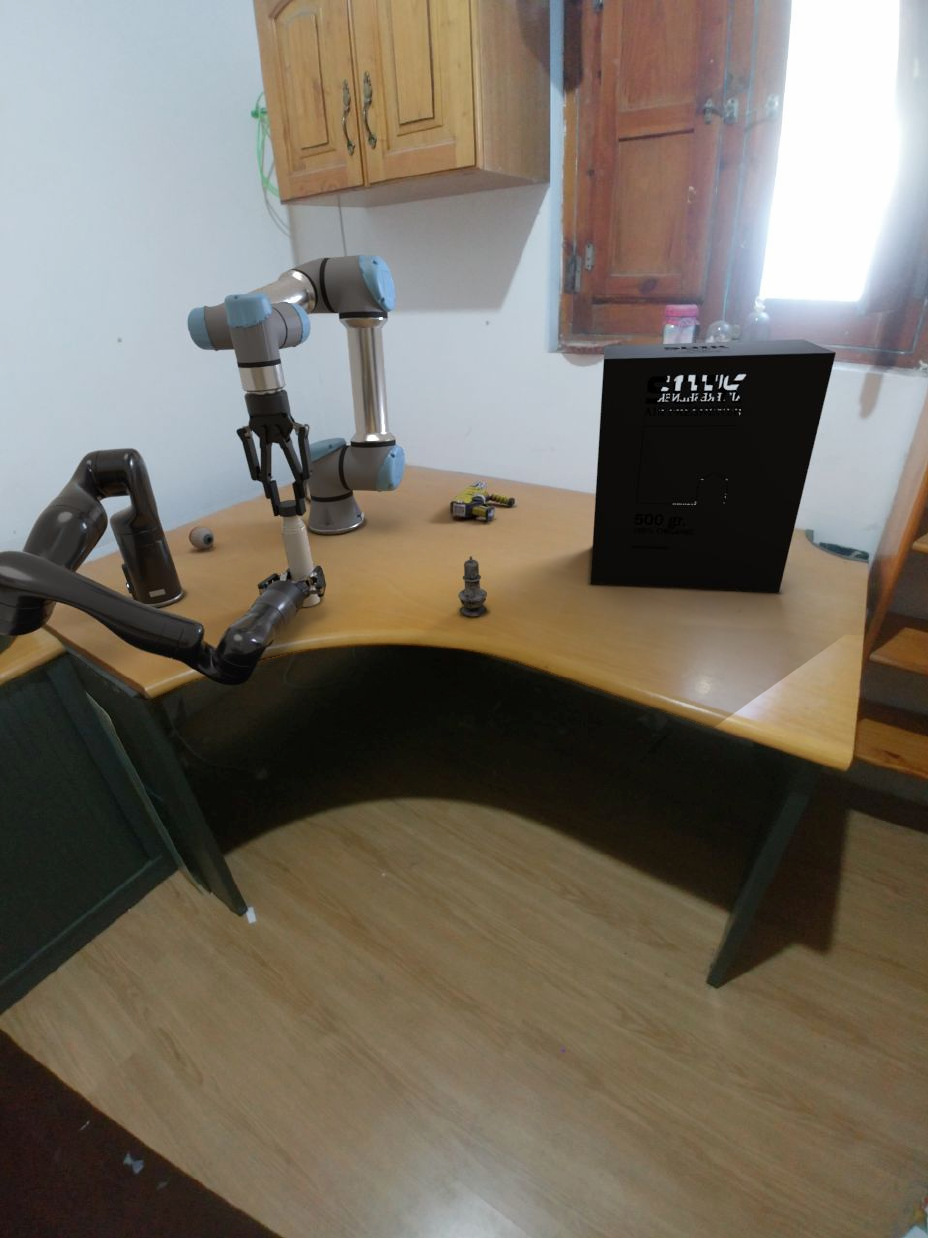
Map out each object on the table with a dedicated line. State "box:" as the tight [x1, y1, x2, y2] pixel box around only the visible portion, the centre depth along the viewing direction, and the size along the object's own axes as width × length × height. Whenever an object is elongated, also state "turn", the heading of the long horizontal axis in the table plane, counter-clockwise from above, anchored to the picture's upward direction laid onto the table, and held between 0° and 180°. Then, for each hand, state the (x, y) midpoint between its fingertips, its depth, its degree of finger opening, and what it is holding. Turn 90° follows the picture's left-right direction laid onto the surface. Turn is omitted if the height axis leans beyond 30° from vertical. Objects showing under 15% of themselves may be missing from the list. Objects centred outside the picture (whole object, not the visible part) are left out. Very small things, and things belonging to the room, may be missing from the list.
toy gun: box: [449, 480, 516, 522], centre depth 174 cm, size 5×24×15 cm
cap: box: [277, 499, 298, 518], centre depth 120 cm, size 4×4×2 cm
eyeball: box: [188, 525, 215, 550], centre depth 158 cm, size 6×6×6 cm
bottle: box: [280, 515, 321, 608], centre depth 125 cm, size 5×5×22 cm
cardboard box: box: [590, 338, 837, 594], centre depth 124 cm, size 38×20×45 cm, turn 78°
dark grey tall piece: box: [457, 555, 488, 617], centre depth 120 cm, size 6×6×12 cm
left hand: (307, 569), depth 129 cm, fingers closed on bottle, 5 cm apart
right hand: (290, 513), depth 120 cm, fingers closed on cap, 4 cm apart
